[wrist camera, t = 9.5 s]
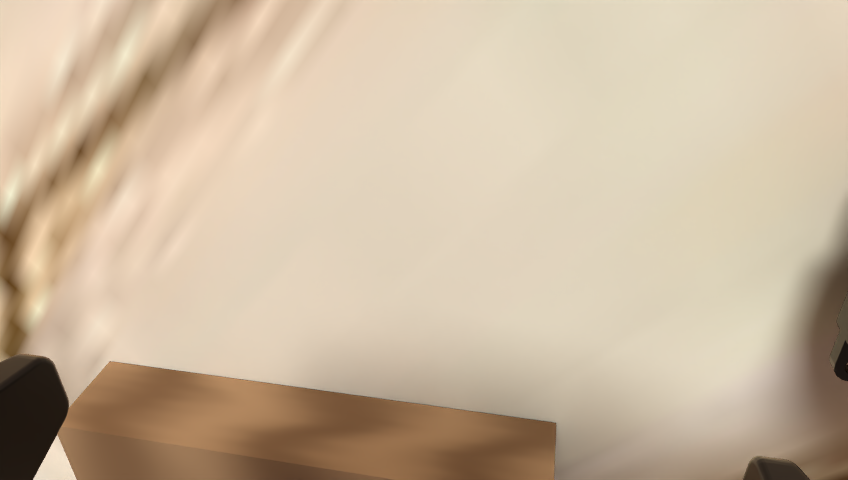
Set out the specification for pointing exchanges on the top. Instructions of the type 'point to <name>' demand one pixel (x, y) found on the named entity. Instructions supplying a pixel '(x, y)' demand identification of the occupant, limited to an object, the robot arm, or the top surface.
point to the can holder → (285, 433)
